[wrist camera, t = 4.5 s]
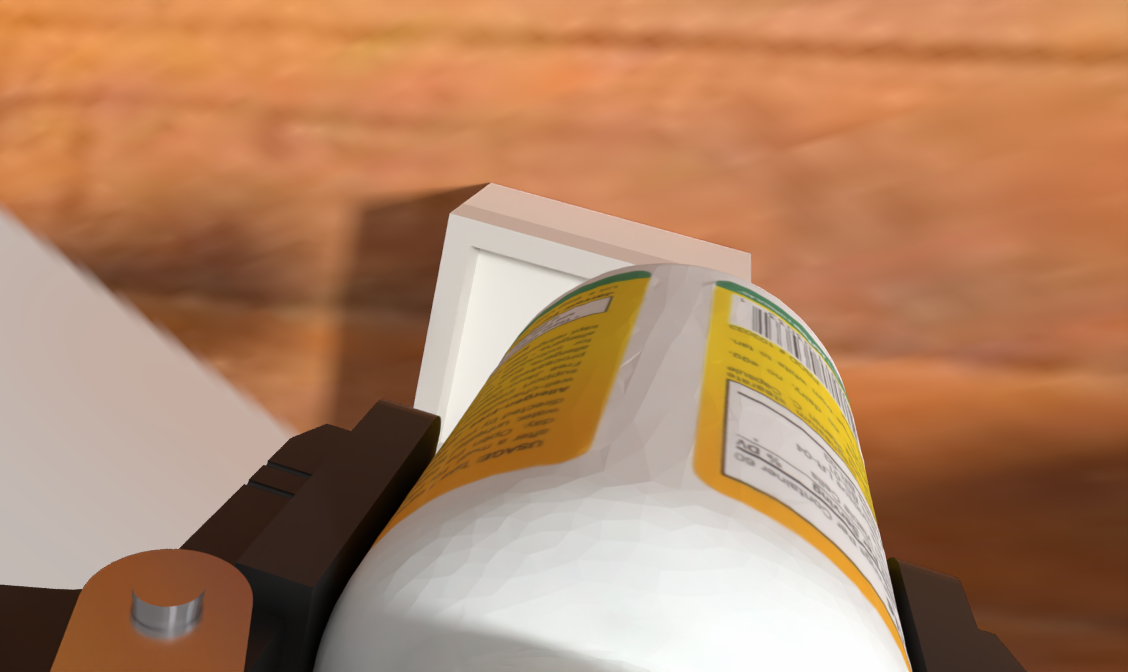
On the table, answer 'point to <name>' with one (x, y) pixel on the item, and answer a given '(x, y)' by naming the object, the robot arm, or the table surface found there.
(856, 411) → the table surface
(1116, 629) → the table surface
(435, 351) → the grey open box
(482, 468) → the supplement bottle
